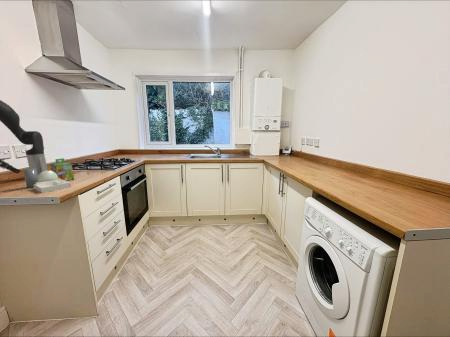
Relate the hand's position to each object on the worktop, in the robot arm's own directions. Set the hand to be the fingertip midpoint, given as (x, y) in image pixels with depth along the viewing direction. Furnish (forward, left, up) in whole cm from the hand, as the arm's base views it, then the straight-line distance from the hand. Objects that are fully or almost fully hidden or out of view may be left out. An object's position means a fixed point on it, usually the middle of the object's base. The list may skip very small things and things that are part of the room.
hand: (17, 171), depth 111 cm
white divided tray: (+14, +10, -10) cm, 20 cm away
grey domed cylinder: (0, +5, -10) cm, 12 cm away
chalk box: (-3, +21, -11) cm, 24 cm away
